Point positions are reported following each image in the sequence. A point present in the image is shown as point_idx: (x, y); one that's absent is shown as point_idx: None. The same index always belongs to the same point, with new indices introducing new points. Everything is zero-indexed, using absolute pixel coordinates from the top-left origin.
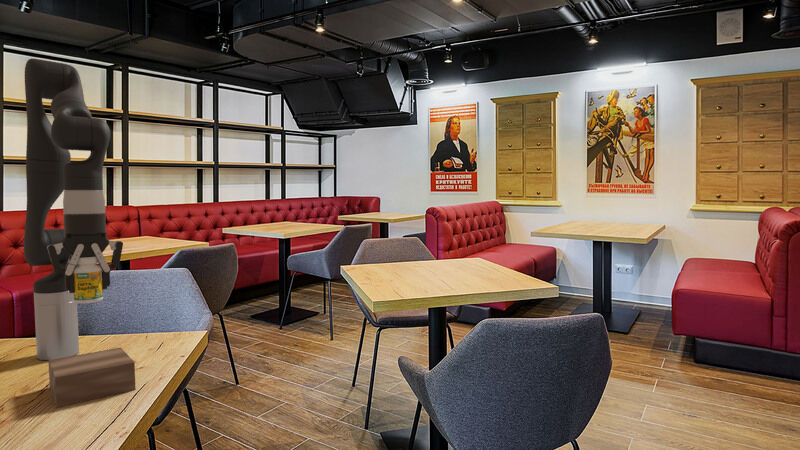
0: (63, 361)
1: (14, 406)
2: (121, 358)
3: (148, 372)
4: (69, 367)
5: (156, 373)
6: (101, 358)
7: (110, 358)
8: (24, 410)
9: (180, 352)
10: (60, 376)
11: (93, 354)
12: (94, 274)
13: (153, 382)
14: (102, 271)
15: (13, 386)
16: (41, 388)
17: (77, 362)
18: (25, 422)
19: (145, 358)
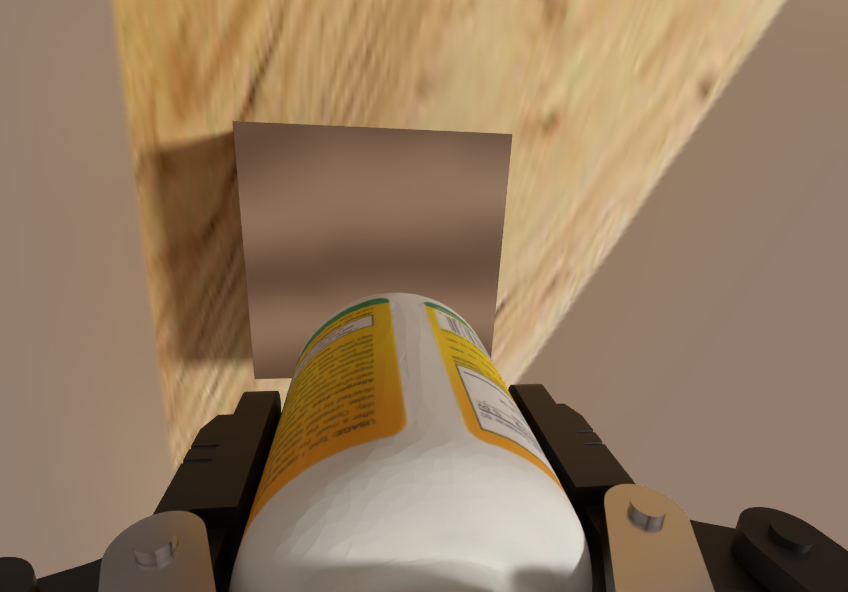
0: (287, 190)
1: (164, 247)
2: (469, 303)
3: (547, 200)
4: (301, 293)
5: (561, 229)
6: (414, 251)
7: (439, 275)
8: (194, 301)
9: (724, 27)
10: (269, 376)
11: (400, 167)
12: None
13: (524, 306)
14: (583, 530)
15: (136, 3)
16: (233, 115)
17: (332, 245)
18: (203, 389)
19: (603, 3)
